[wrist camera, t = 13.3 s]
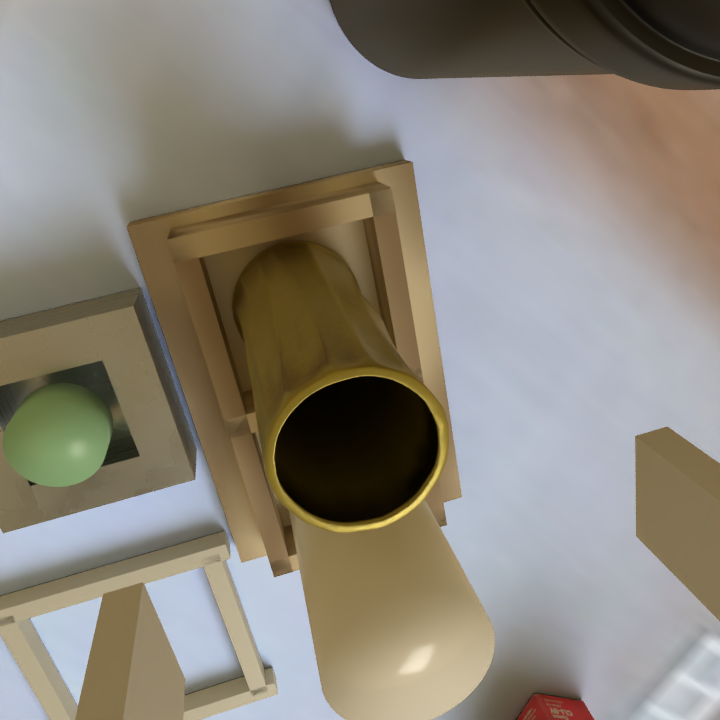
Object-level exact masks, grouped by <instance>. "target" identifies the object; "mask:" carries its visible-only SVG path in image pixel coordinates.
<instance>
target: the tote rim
mask: <svg viewBox="0 0 720 720" xmlns="http://www.w3.org/2000/svg"><path fill="white" fill-rule="evenodd" d="M227 559H230V543H229V541H228V538H227V535H226V532H225V531H223V532H219V533H216V534H212V535H209V536H206V537H202V538H199V539H195V540H192V541H188V542H185V543H182V544H178V545H175V546H171V547H168V548H164V549H161V550H157V551H154V552H151V553H147V554H144V555H140V556H137V557H133V558H130V559H127V560H123V561H120V562H116V563H113V564H109V565H106V566H103V567H99V568H96V569H92V570H89V571H85V572H82V573H78V574H75V575H72V576H68V577H65V578H61V579H58V580H54V581H51V582H48V583H44V584H41V585H37V586H34V587H30V588H27V589H23V590H20V591H17V592H13V593H10V594H6V595H3V596H0V635H1V636H2V638H3V640H4V641H5V643H6V645H7V647H8V648H9V650H10V652H11V653H12V655H13V657H14V659H15V660H16V662H17V664H18V666H19V667H20V669H21V671H22V672H23V674H24V676H25V678H26V679H27V681H28V683H29V684H30V686H31V688H32V690H33V691H34V693H35V695H36V696H37V698H38V700H39V702H40V703H41V705H42V707H43V708H44V710H45V712H46V714H47V715H48V717H49V719H50V720H75V718H76V714H77V709H78V706H77V705H76V703H75V701H74V699H73V697H72V695H71V694H70V692H69V690H68V688H67V686H66V684H65V683H64V681H63V679H62V677H61V675H60V674H59V672H58V670H57V668H56V666H55V664H54V663H53V661H52V659H51V657H50V655H49V653H48V652H47V650H46V648H45V646H44V644H43V642H42V641H41V639H40V637H39V635H38V633H37V632H36V630H35V628H34V626H33V624H32V622H31V621H30V619H29V618H31V617H35V616H38V615H42V614H45V613H48V612H52V611H55V610H58V609H62V608H65V607H68V606H72V605H75V604H79V603H82V602H85V601H89V600H92V599H95V598H99V597H102V596H103V594H104V593H108V592H111V591H115V590H118V589H121V588H125V587H128V586H131V585H135V584H138V583H142V582H143V583H144V584H146V583H149V582H153V581H156V580H159V579H163V578H166V577H170V576H173V575H176V574H180V573H183V572H186V571H190V570H193V569H196V568H200V567H204V569H205V572H206V575H207V577H208V580H209V582H210V585H211V588H212V590H213V593H214V596H215V598H216V601H217V604H218V606H219V609H220V612H221V614H222V617H223V620H224V622H225V625H226V628H227V630H228V633H229V636H230V638H231V641H232V644H233V646H234V649H235V652H236V654H237V657H238V660H239V662H240V665H241V668H242V670H243V673H244V677H240V678H237V679H234V680H231V681H228V682H225V683H222V684H219V685H215V686H212V687H209V688H206V689H203V690H200V691H197V692H194V693H191V694H187V695H184V716H183V720H200V719H203V718H206V717H209V716H212V715H215V714H218V713H222V712H225V711H228V710H231V709H234V708H237V707H240V706H243V705H246V704H249V703H252V702H255V701H258V700H261V699H264V698H267V697H271V696H274V695H277V694H278V690H277V681H276V676H275V673H274V670H273V667H272V668H268V669H264V666H263V663H262V661H261V658H260V655H259V652H258V649H257V647H256V644H255V641H254V638H253V635H252V633H251V630H250V627H249V624H248V621H247V618H246V616H245V613H244V610H243V607H242V604H241V602H240V599H239V596H238V593H237V590H236V587H235V585H234V582H233V579H232V576H231V573H230V571H229V568H228V565H227V562H226V560H227Z"/></svg>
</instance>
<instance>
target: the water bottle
mask: <svg viewBox="0 0 720 720" xmlns="http://www.w3.org/2000/svg"><path fill="white" fill-rule="evenodd" d="M330 3H331V6H332V9H333V12H334V14H335V17H336V19H337V21H338V23H339V25H340V27H341V29H342V31H343V32H344V34H345V35H346V37H347V38H348V40H349V41H350V42H351V44H352V45H353V46H354V47H355V49H356V50H357V51H358V52H359V53H360V54H361V55H362V56H363V57H365V58H366V59H367V60H368V61H370V62H371V63H372V64H374V65H375V66H377V67H379V68H380V69H382V70H384V71H386V72H389V73H391V74H394V75H397V76H401V77H405V78H413V79H432V78H472V77H512V76H552V75H592V74H615V75H618V76H621V77H624V78H626V79H629V80H632V81H635V82H638V83H641V84H645V85H649V86H653V87H659V88H665V89H674V90H712V89H720V0H330Z"/></svg>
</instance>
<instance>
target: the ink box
mask: <svg viewBox="0 0 720 720" xmlns="http://www.w3.org/2000/svg"><path fill="white" fill-rule="evenodd" d="M517 720H594V718H593V717H592V715H591V714H590V712H589V710H588V708H587V707H586V705H585V703H584V702H583V701H579V700H572V699H567V698H560V697H554V696H548V695H542V694H534V695H533V696H532V697H531V699H530V700H529V702H528V703H527V705H526V706H525V708H524V709H523V711H522V713H521V714H520V715H519V717H518V719H517Z"/></svg>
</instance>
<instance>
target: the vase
mask: <svg viewBox="0 0 720 720" xmlns="http://www.w3.org/2000/svg"><path fill="white" fill-rule="evenodd" d="M232 309H233V317H234V321H235V324H236V327H237V329H238V331H239V334H240V336H241V338H242V340H243V341H244V343H245V349H246V357H247V363H248V369H249V374H250V379H251V384H252V391H253V398H254V405H255V412H256V420H257V426H258V432H259V437H260V443H261V449H262V455H263V462H264V470H265V474H266V476H267V479H268V481H269V484H270V486H271V488H272V490H273V491H274V493H275V495H276V497H277V498H278V499H279V501H280V502H281V503H282V504H283V505H284V506H285V507H286V508H288V509H289V510H290V511H291V512H292V513H293V514H294V515H296V516H297V517H298V518H300V519H301V520H302V521H304V522H306V523H308V524H310V525H312V526H315V527H318V528H321V529H324V530H327V531H332V532H337V533H351V532H359V531H366V530H372V529H377V528H380V527H384V526H387V525H389V524H391V523H393V522H395V521H397V520H399V519H401V518H402V517H404V516H405V515H407V514H408V513H410V512H411V511H413V510H414V509H415V508H416V507H417V506H418V505H420V504H421V503H422V502H423V500H424V499H425V498H426V497H427V496H428V495H429V493H430V492H431V490H432V489H433V487H434V486H435V484H436V483H437V481H438V480H439V478H440V476H441V474H442V471H443V469H444V467H445V464H446V461H447V456H448V449H449V424H448V420H447V416H446V413H445V410H444V408H443V407H442V405H441V404H440V403H439V401H438V400H437V399H436V397H435V396H434V395H433V394H432V392H431V391H430V390H429V389H428V388H427V387H426V386H425V385H424V383H423V382H421V381H420V380H419V379H418V378H417V377H416V376H415V375H414V373H413V372H412V371H411V369H410V368H409V367H408V365H407V364H406V363H405V361H404V360H403V358H402V357H401V356H400V354H399V353H398V351H397V349H396V348H395V346H394V344H393V343H392V341H391V338H390V336H389V334H388V332H387V329H386V327H385V325H384V322H383V320H382V319H381V317H380V316H379V314H378V313H377V312H376V310H375V309H374V308H373V307H372V305H371V304H370V302H369V301H368V300H367V299H366V298H365V297H364V296H363V295H362V294H361V289H360V287H359V285H358V282H357V280H356V277H355V276H354V274H353V272H352V271H351V269H350V268H349V266H348V265H347V263H346V262H345V261H344V260H343V259H342V258H341V257H340V256H338V255H337V254H336V253H334V252H332V251H331V250H329V249H327V248H325V247H323V246H320V245H317V244H314V243H310V242H288V243H282V244H279V245H276V246H273V247H271V248H268V249H266V250H265V251H263V252H261V253H260V254H259V255H257V256H256V257H255V258H254V259H253V260H251V262H250V263H249V264H248V265H247V266H246V267H245V268H244V270H243V271H242V273H241V275H240V276H239V279H238V281H237V283H236V286H235V290H234V294H233V301H232Z"/></svg>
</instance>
